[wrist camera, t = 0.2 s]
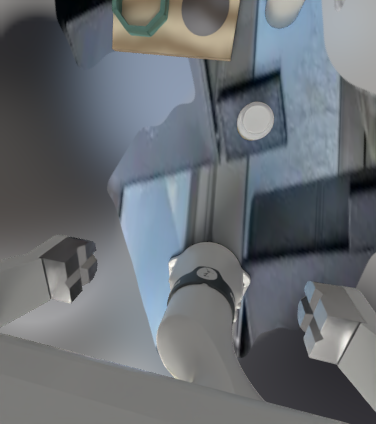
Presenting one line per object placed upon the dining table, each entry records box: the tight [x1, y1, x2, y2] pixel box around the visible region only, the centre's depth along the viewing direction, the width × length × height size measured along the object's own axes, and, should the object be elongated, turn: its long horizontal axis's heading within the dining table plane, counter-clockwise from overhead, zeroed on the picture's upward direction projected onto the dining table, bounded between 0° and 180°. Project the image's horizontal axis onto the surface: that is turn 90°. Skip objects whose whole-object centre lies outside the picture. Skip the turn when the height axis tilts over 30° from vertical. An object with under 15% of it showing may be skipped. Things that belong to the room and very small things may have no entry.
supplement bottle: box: [237, 102, 274, 141], centre depth 38 cm, size 6×6×10 cm
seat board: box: [112, 0, 240, 61], centre depth 39 cm, size 14×22×3 cm, turn 82°
